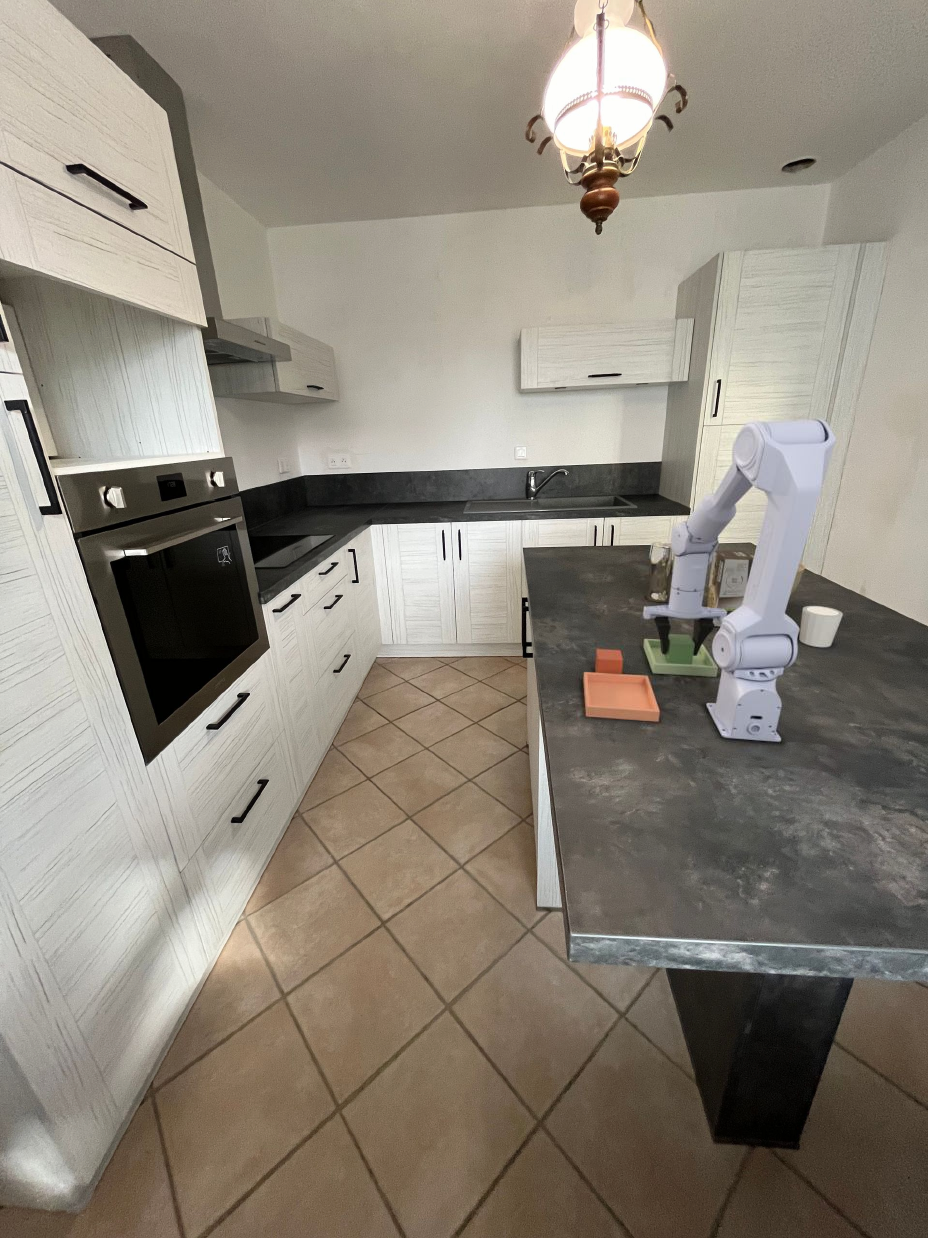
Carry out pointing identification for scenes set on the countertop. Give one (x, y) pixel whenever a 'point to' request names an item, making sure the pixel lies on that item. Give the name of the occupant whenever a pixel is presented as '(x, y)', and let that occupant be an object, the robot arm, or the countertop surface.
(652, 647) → the sage tray
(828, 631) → the white cup
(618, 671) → the terracotta block
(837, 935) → the countertop surface
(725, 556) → the coffee box
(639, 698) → the terracotta tray
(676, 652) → the sage block
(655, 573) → the beer glass
